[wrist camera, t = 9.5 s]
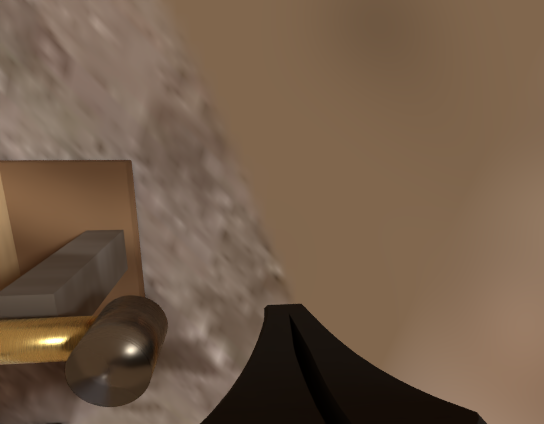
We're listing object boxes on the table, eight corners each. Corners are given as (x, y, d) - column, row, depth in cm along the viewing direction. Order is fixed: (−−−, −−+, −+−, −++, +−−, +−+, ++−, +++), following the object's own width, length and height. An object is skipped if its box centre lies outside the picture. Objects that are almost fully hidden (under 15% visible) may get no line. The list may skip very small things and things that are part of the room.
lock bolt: (170, 350, 13) (154, 403, 10) (-89, 364, 12) (-174, 426, 9) (165, 292, 12) (147, 335, 10) (-109, 303, 11) (-205, 353, 9)
